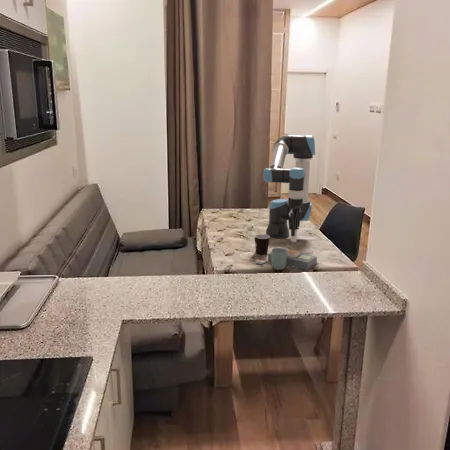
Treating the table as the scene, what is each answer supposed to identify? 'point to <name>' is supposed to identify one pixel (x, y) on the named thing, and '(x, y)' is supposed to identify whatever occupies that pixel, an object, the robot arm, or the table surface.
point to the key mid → (293, 253)
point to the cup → (278, 258)
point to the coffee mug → (261, 244)
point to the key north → (305, 257)
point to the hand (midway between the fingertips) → (293, 241)
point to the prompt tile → (260, 261)
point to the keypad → (299, 261)
